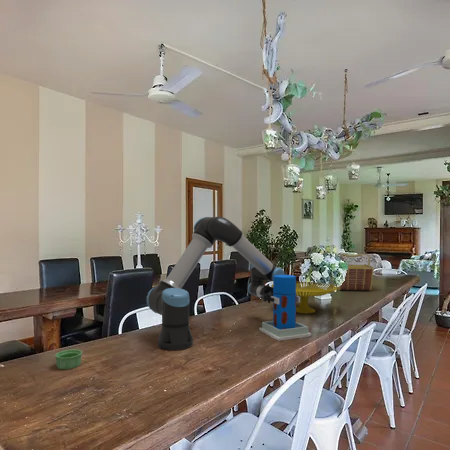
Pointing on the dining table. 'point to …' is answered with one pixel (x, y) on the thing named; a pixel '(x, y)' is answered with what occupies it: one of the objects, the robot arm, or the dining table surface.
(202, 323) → the dining table surface
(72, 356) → the ramekin
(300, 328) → the holder
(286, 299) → the leaf-print tea canister
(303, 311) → the yellow pedestal fruit bowl
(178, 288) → the robot arm
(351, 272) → the picnic basket
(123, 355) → the dining table surface
